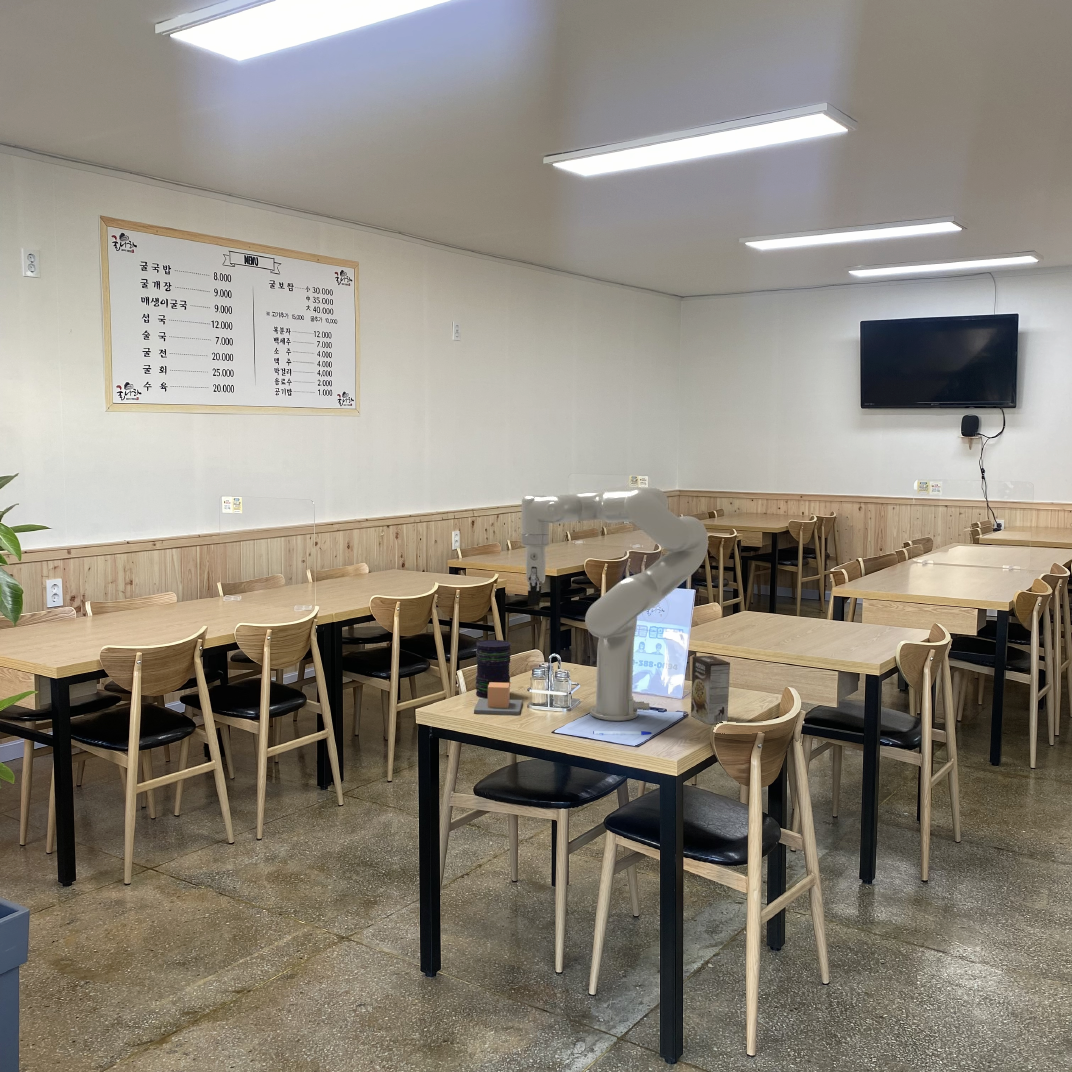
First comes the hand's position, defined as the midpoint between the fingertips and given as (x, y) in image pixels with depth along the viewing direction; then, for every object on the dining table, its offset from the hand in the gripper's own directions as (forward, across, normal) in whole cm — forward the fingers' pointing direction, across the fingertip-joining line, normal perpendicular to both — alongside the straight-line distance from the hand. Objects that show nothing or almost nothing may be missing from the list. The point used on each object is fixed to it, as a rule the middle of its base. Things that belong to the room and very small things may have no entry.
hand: (534, 602), depth 272 cm
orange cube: (+27, -7, +9) cm, 29 cm away
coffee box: (+29, -11, -47) cm, 56 cm away
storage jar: (+28, +8, +12) cm, 32 cm away
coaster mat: (+28, -7, +9) cm, 30 cm away
